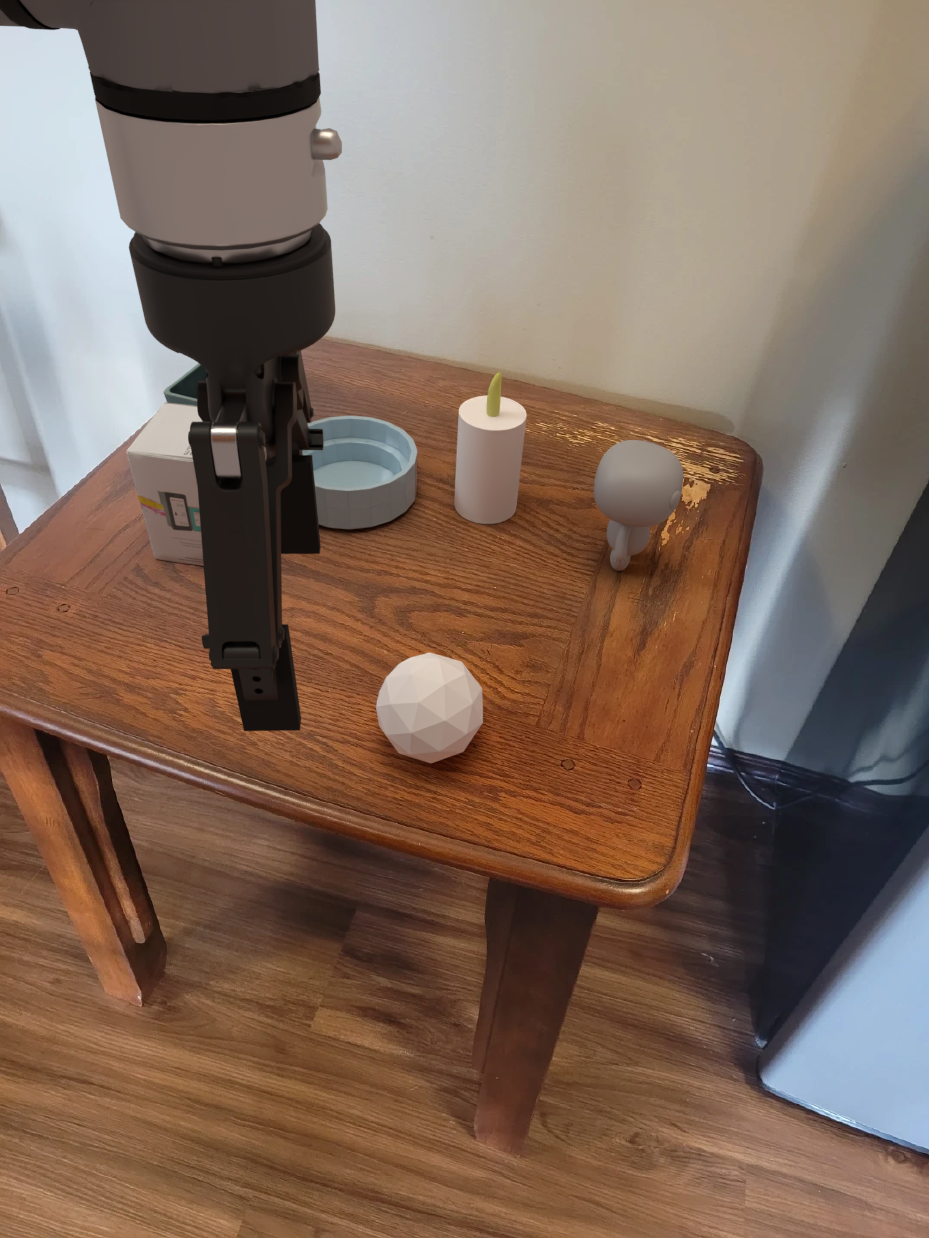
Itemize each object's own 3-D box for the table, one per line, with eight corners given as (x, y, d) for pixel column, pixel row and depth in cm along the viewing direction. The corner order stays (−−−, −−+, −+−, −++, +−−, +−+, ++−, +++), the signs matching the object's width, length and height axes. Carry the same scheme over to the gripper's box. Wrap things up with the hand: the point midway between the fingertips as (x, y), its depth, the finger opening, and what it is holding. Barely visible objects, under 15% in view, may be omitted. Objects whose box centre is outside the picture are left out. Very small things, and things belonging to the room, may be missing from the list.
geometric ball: (403, 752, 66) (363, 661, 64) (499, 718, 66) (462, 624, 64) (395, 796, 59) (351, 694, 57) (504, 757, 58) (462, 653, 56)
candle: (497, 480, 89) (510, 345, 79) (527, 515, 85) (544, 377, 74) (443, 493, 87) (448, 356, 76) (470, 530, 83) (480, 390, 72)
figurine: (655, 597, 77) (685, 487, 69) (573, 579, 78) (593, 469, 70) (664, 544, 83) (693, 437, 74) (588, 528, 84) (608, 421, 75)
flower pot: (252, 490, 86) (241, 411, 79) (177, 470, 88) (160, 391, 81) (295, 447, 92) (287, 370, 85) (223, 429, 94) (211, 352, 87)
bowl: (257, 493, 85) (251, 450, 82) (352, 443, 93) (350, 402, 89) (349, 551, 79) (347, 507, 76) (443, 492, 87) (444, 450, 84)
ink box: (187, 505, 83) (163, 398, 75) (271, 516, 83) (257, 409, 75) (151, 560, 77) (122, 450, 69) (242, 572, 77) (223, 462, 68)
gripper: (301, 391, 23) (343, 822, 38) (346, 136, 41) (363, 495, 56) (18, 387, 23) (172, 826, 37) (188, 131, 41) (247, 495, 55)
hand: (286, 628), depth 47 cm, fingers open, 13 cm apart
